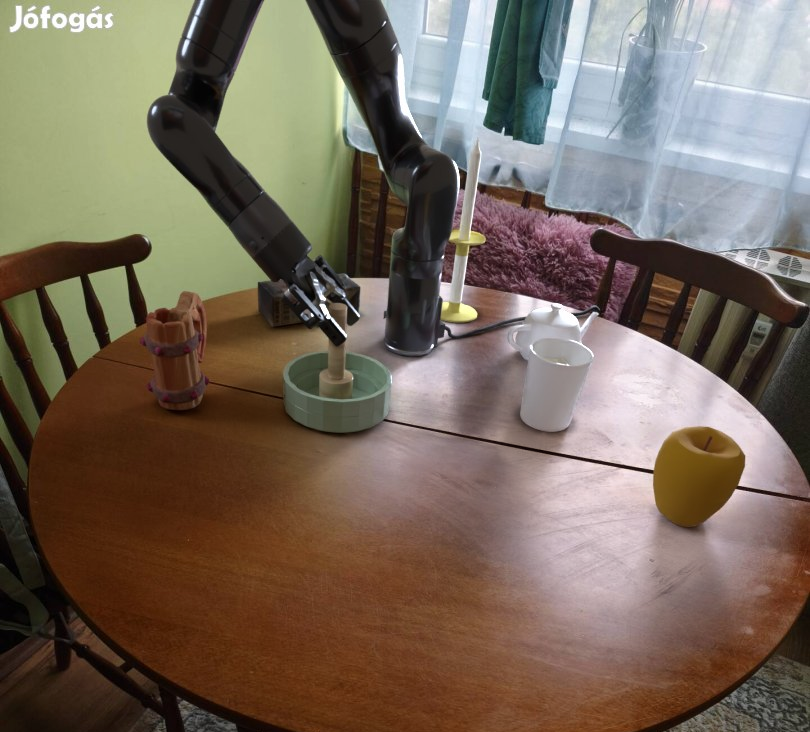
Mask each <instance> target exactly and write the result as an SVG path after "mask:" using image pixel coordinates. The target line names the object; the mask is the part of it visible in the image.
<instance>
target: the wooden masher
mask: <svg viewBox="0 0 810 732" xmlns="http://www.w3.org/2000/svg"><path fill="white" fill-rule="evenodd" d="M329 315H330V318H331V317H332V318H333V319H334V321H335V322H336V323H337V324H338V325H339V326H340V328H341V329H342V330H343V331H344V332H345V334H346V335H347V326H348V324H347V306H346V305H345V304H342V303H332V304H330V305H329ZM327 338H328V337H327ZM327 341H328V342H327V345H328V346H327V347H328V348H327V351H328V369H325V370H323V371H322V372H321V373H320V374H319V397H323V398H331V399H352V391H353V375H352V373H351V372H349V371H347V370H345V354H346V351H347V349H346V348H347V340H346V341H345V342H344V343H342V344H341V345H340V346H338V347H337V346H335V345H334V344H333V343H332V342H331V341H330V339H329V338H328V340H327Z"/></svg>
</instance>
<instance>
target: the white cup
mask: <svg viewBox="0 0 810 732" xmlns="http://www.w3.org/2000/svg"><path fill="white" fill-rule="evenodd" d="M593 362H594V353H593V351H591V349H590V348H588V347H587V346H586V345H583V344H580V343H577V342H575V341H572V340H568V339H563V338H554V337H548V338H541V339H537V340H535V341H534V342H532V343H531V345H530V353H529V359H528V361H527V368H526V371H525V372H526V373H525V379H524V385H523V390H522V391H523V392H522V398H521V403H520V411H519V416H520V419H521V421H522V422H523V423H524V424H525V425H527V426H529V427H530V428H533V429H535V430H538V431H542V432H547V433H555V432H561V431H565V430H566V429H567V428H568V427H569V426H570V424H571V422H572V419H573V417H574V415H575V412H576V408H577V405H578V403H579V400H580V397H581V394H582V391H583V388H584V385H585V383H586V380H587V377H588V374H589V372H590V368H591V366H592V363H593Z"/></svg>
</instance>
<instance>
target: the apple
mask: <svg viewBox="0 0 810 732" xmlns="http://www.w3.org/2000/svg"><path fill="white" fill-rule="evenodd" d="M745 468H746V454H745V452H744V451H743V449H742V448H741V447H740V445H739V444H738V443H737V442H736V441H735V439H733V438H732V437H731V436H729V435H728V434H726V433H725V432H723V431H721V430H719V429H716V428H713V427H710V426H703V425H702V426H699V425H698V426H686V427H683V428H680V429H677V430H674V431H672V432H671V433H670V434H669V435H668V436H667V437H666V438H665V439H664V440H663V442H662V444H661V446H660V448H659V450H658V452H657V455H656V458H655V461H654V467H653V473H652V488H653V496H654V501H655V506H656V508H657V510H658V512H659V513H660V514H661V515H662V516H663V517H664V518H665V519H667V520H668V521H670V522H671V523H673V524H675V525H676V526H680V527H686V528H692V527H698V526H700V525H702V524H703V523H704V522H706V521H707V520H709V519H710V518H711V517H712V516H714V515H715V514H716V513H717V512H719V511H720V510H721V509H722V508H723V507H724V506H725V505H726V504H727V503H728V501H729V500H730V499H731V498H732V496H733V494H734V492H735V491H736V489H737V488H738V486H739V484H740V481H741V478H742V475H743V473H744V470H745Z"/></svg>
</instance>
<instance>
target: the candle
mask: <svg viewBox="0 0 810 732" xmlns="http://www.w3.org/2000/svg"><path fill="white" fill-rule="evenodd" d="M482 153H483V152H482V150H481V148H480V140H479V138H477V139H476V141H475V143H474V146H473V148H472V149H471V150H470V152H469V158H468V164H467V171H466V173H467V174H466V179H465V187H464V195H463V202H462V208H461V217H460V223H459V228H452V233H451V236H450V239H449V241H448V242H449V243H453V244H456V247H455V253H454V254H455V255H454V261H453V269H452V276H451V283H450V284H451V285H450V292H449V298H448V301H443V304H442V312H441V319H440V321H445V322H449V323H455V324H456V323H457V324H459V323H463V324H464V323H470V322H473V321H475V320H476V319H477V318H478V312H477V311H476V309H475V308H473V307H472V306H470V305H468V304H464V303H462V298H463V290H464V285H465V278H466V270H467V263H468V257H469V250H470V246H478V245H479V246H480V245H483V244H485V242H486V239H487V238H486V236H485V235H484V234H482V233H479V231H478V232H477V231H473V230H472V225H473V215H474V209H475V202H476V196H477V195H476V194H477V189H478V188H477V187H478V182H479V173H480V167H481V160H482Z"/></svg>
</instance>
